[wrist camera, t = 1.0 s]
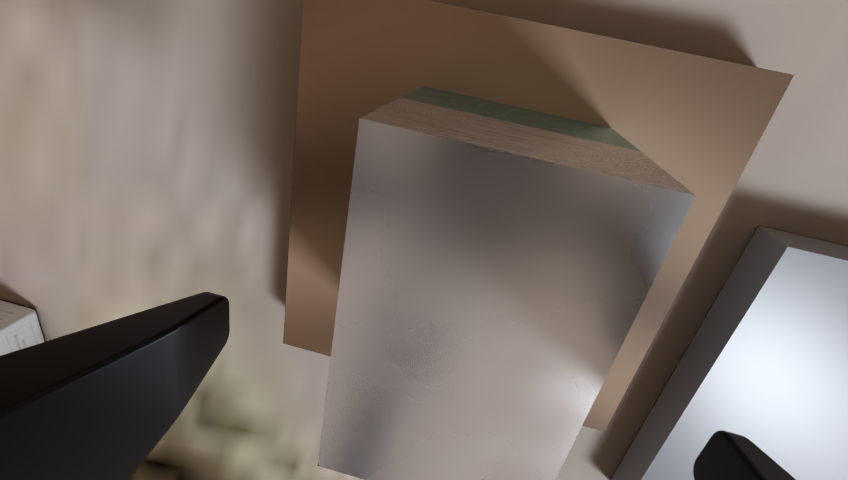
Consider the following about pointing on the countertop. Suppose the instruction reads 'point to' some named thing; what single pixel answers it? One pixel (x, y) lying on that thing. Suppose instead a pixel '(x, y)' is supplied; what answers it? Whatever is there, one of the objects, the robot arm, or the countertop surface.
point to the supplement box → (18, 328)
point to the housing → (485, 286)
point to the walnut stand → (518, 86)
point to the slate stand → (761, 367)
